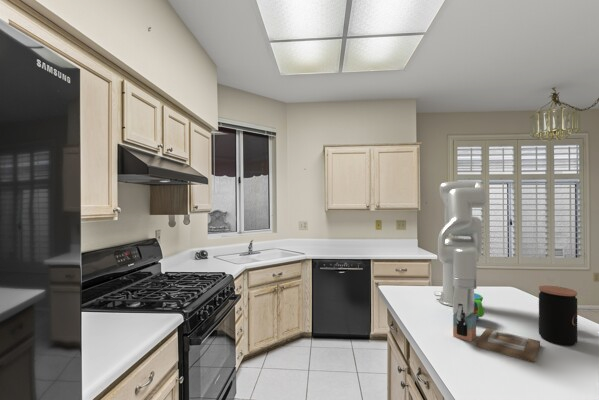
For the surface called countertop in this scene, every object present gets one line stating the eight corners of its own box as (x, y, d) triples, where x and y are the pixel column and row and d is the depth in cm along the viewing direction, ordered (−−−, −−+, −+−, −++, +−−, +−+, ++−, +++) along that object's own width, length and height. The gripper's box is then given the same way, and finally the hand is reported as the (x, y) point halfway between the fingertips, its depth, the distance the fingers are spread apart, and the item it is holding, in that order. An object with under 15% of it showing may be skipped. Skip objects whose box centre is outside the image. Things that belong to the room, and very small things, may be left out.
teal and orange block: (453, 336, 114) (453, 314, 114) (458, 331, 118) (458, 310, 118) (471, 341, 109) (471, 318, 110) (476, 336, 114) (476, 314, 114)
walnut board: (475, 346, 106) (475, 338, 106) (486, 332, 118) (486, 325, 118) (534, 362, 95) (534, 354, 95) (540, 345, 107) (540, 338, 107)
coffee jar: (580, 349, 104) (580, 295, 104) (540, 341, 110) (540, 290, 110) (574, 338, 113) (574, 288, 113) (537, 331, 119) (537, 283, 119)
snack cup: (446, 312, 139) (446, 289, 139) (469, 312, 139) (469, 289, 139) (466, 326, 123) (466, 300, 123) (492, 326, 124) (492, 300, 124)
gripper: (460, 276, 123) (460, 323, 123) (446, 285, 110) (445, 336, 110) (482, 280, 118) (482, 328, 118) (469, 289, 105) (469, 343, 105)
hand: (464, 331), depth 114 cm, fingers closed on teal and orange block, 6 cm apart
